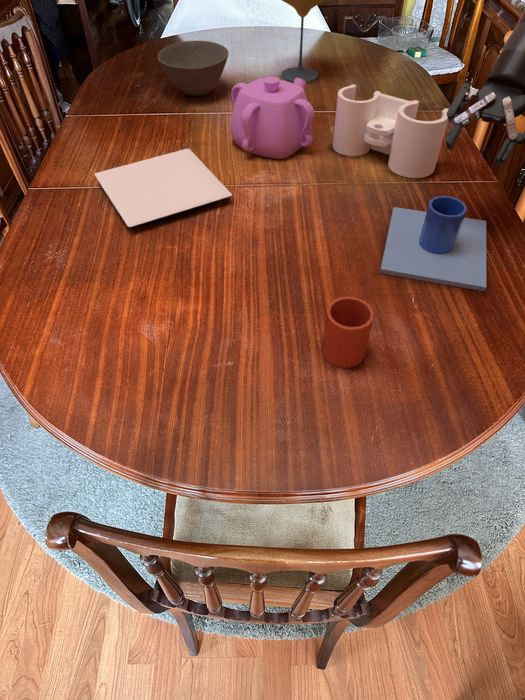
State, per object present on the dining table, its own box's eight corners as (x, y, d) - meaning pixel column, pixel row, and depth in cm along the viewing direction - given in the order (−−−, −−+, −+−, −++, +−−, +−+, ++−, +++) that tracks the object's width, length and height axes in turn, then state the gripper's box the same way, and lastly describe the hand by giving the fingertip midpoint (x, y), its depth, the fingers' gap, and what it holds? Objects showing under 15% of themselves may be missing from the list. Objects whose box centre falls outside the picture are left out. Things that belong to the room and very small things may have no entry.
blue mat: (484, 225, 100) (486, 220, 99) (484, 291, 87) (486, 287, 86) (392, 211, 103) (393, 206, 102) (379, 273, 91) (380, 268, 90)
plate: (233, 203, 105) (232, 194, 104) (130, 235, 98) (128, 226, 97) (189, 155, 118) (188, 147, 117) (96, 181, 111) (93, 172, 110)
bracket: (324, 150, 119) (328, 97, 110) (344, 134, 125) (350, 82, 115) (422, 183, 110) (436, 128, 101) (440, 164, 115) (455, 110, 106)
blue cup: (454, 236, 96) (467, 199, 90) (453, 256, 92) (466, 219, 86) (420, 230, 97) (430, 193, 91) (417, 250, 93) (427, 213, 87)
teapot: (233, 163, 116) (230, 99, 105) (229, 121, 129) (225, 60, 118) (316, 159, 117) (321, 95, 106) (303, 118, 130) (306, 57, 119)
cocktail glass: (282, 59, 156) (284, -41, 137) (338, 68, 151) (349, -35, 132) (259, 82, 145) (258, -24, 126) (318, 92, 140) (327, -16, 122)
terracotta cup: (367, 340, 80) (376, 301, 74) (361, 372, 76) (370, 333, 69) (326, 332, 81) (331, 293, 75) (318, 362, 77) (322, 324, 71)
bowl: (174, 76, 148) (169, 38, 141) (237, 81, 146) (235, 42, 138) (153, 104, 136) (146, 64, 129) (220, 109, 134) (218, 69, 126)
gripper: (478, 38, 83) (430, 134, 85) (569, 58, 77) (514, 160, 79) (481, 64, 89) (436, 151, 92) (564, 84, 83) (513, 177, 86)
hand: (472, 155), depth 86 cm, fingers open, 8 cm apart
